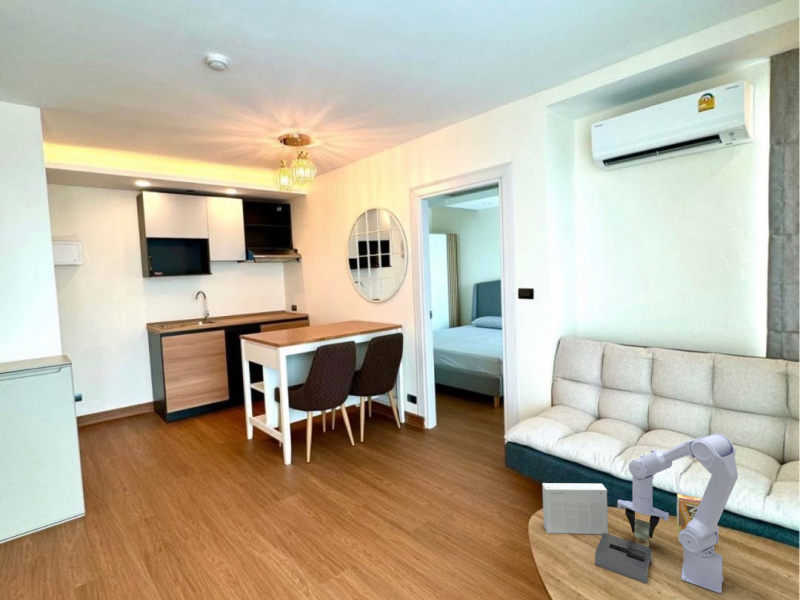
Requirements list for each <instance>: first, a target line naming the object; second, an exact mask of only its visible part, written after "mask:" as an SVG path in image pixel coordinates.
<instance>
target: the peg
mask: <svg viewBox="0 0 800 600" xmlns="http://www.w3.org/2000/svg"><path fill="white" fill-rule="evenodd" d="M634 537H635V541H634V543H637V544H641V545H644V546H647V547H650V541H649V540H650V521H645V520H642V519H638V518H635V533H634Z"/></svg>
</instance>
